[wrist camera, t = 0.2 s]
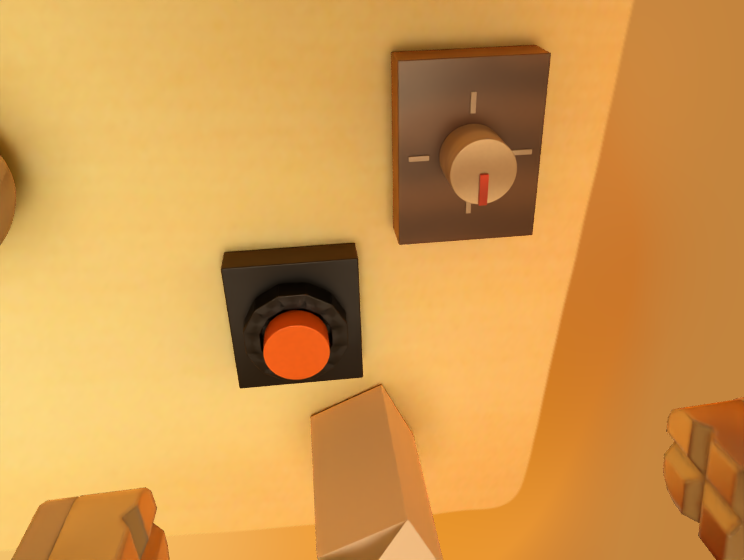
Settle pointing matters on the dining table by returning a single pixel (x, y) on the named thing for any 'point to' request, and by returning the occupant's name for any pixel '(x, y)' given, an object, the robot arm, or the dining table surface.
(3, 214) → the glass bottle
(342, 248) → the button base
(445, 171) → the dial knob
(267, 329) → the round orange button
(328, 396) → the dining table surface
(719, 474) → the robot arm
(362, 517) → the milk carton
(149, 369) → the dining table surface
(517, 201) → the dial panel
